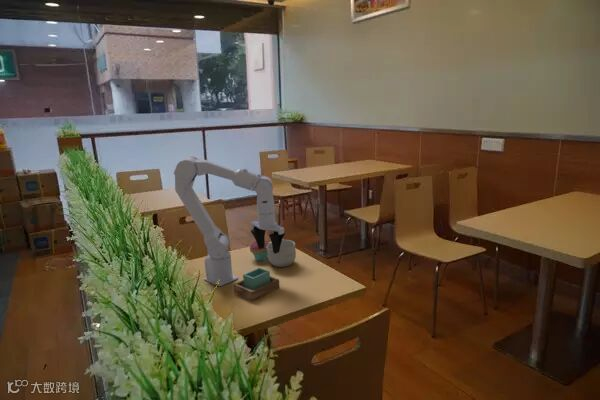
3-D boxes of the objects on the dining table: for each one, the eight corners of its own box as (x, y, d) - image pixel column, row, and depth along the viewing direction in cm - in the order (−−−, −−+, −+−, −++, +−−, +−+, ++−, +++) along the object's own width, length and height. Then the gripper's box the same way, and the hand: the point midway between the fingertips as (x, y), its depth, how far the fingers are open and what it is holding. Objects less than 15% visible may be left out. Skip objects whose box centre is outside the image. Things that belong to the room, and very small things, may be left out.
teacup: (292, 270, 147) (291, 249, 145) (264, 269, 150) (262, 248, 148) (300, 256, 161) (299, 236, 159) (274, 255, 163) (272, 236, 161)
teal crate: (244, 290, 132) (243, 274, 131) (260, 282, 137) (259, 267, 136) (254, 294, 129) (253, 278, 127) (270, 286, 134) (269, 271, 132)
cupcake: (250, 255, 164) (248, 227, 161) (271, 253, 165) (269, 225, 162) (250, 263, 156) (248, 233, 153) (272, 261, 157) (270, 231, 154)
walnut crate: (234, 292, 132) (233, 284, 131) (260, 280, 140) (259, 272, 139) (253, 301, 126) (252, 292, 125) (279, 287, 134) (278, 279, 133)
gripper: (289, 212, 135) (292, 251, 138) (260, 206, 145) (263, 243, 148) (274, 217, 130) (277, 257, 133) (245, 211, 140) (248, 248, 143)
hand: (268, 250), depth 140 cm, fingers open, 7 cm apart
